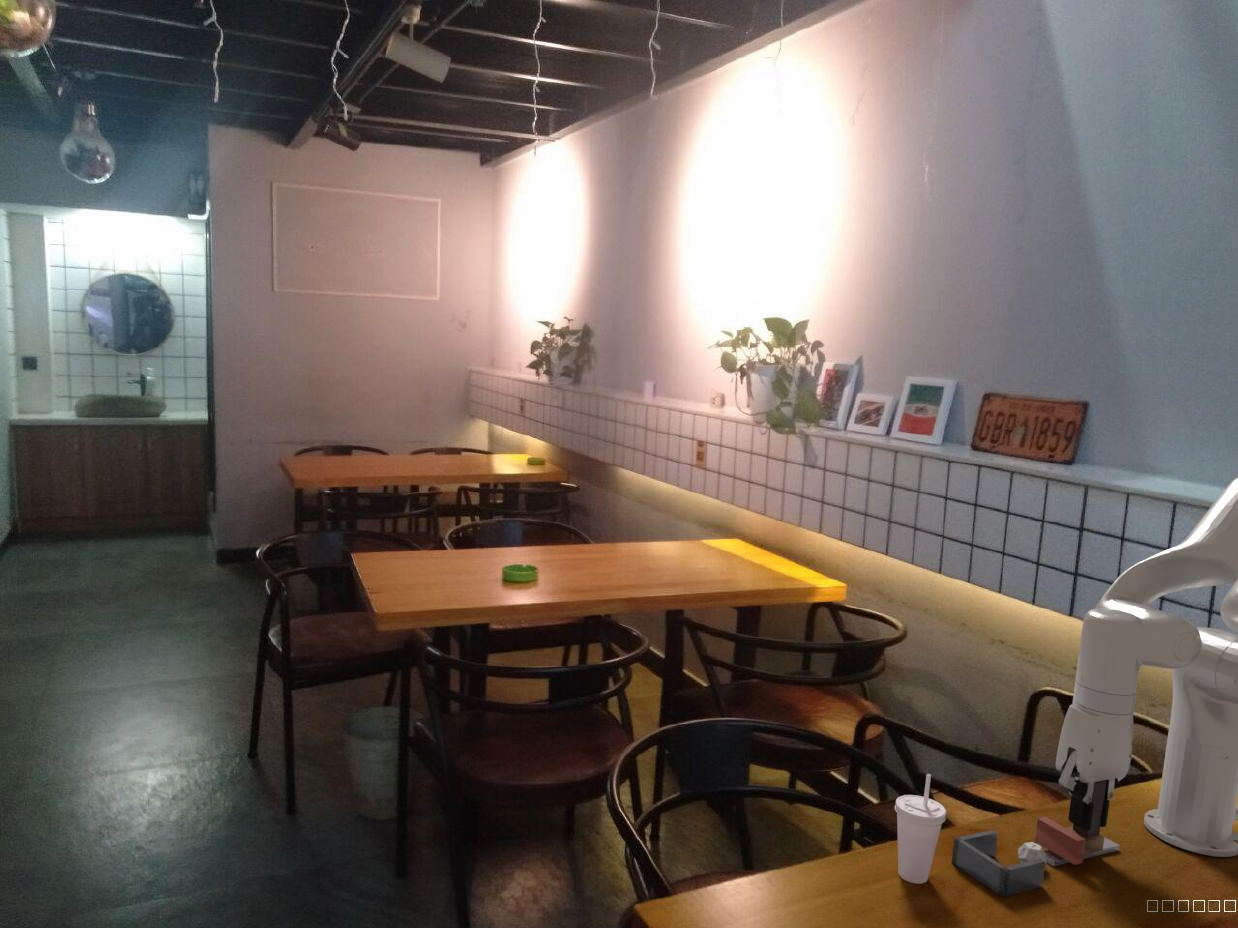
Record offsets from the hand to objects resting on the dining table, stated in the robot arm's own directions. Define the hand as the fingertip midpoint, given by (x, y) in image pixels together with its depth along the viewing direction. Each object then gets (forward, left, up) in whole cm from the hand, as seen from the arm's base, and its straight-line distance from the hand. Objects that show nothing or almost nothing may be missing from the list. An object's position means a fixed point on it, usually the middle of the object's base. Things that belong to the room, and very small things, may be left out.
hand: (1087, 822), depth 129 cm
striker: (+2, 0, -3) cm, 4 cm away
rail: (+1, 0, -4) cm, 5 cm away
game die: (+11, 0, -5) cm, 12 cm away
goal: (+17, 0, -4) cm, 17 cm away
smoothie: (+29, -4, -5) cm, 29 cm away
